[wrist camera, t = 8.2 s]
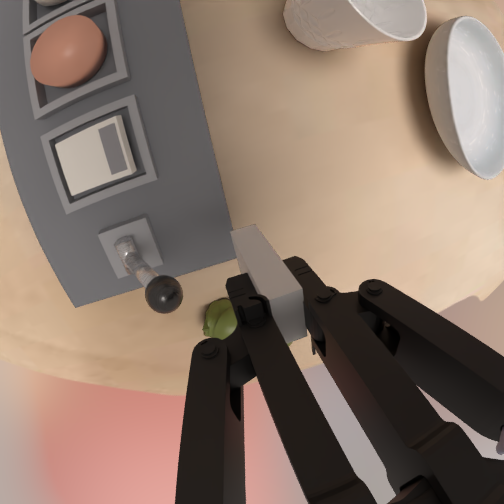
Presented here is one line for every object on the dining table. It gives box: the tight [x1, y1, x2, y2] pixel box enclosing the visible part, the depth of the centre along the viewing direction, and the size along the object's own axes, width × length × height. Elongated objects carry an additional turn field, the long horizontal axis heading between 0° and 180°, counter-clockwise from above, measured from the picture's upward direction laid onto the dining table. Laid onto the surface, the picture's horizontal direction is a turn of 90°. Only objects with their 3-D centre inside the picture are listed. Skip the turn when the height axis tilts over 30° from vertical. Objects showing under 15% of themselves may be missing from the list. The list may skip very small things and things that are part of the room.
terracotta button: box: [30, 15, 107, 88], centre depth 11 cm, size 5×5×3 cm
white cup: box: [283, 0, 427, 52], centre depth 13 cm, size 8×8×10 cm
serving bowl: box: [425, 16, 504, 180], centre depth 21 cm, size 21×21×7 cm
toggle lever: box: [114, 236, 183, 314], centre depth 16 cm, size 2×2×8 cm
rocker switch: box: [55, 115, 137, 196], centre depth 15 cm, size 5×4×1 cm
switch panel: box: [0, 0, 237, 308], centre depth 15 cm, size 16×31×5 cm, turn 12°
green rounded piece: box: [202, 299, 292, 347], centre depth 29 cm, size 6×5×10 cm
